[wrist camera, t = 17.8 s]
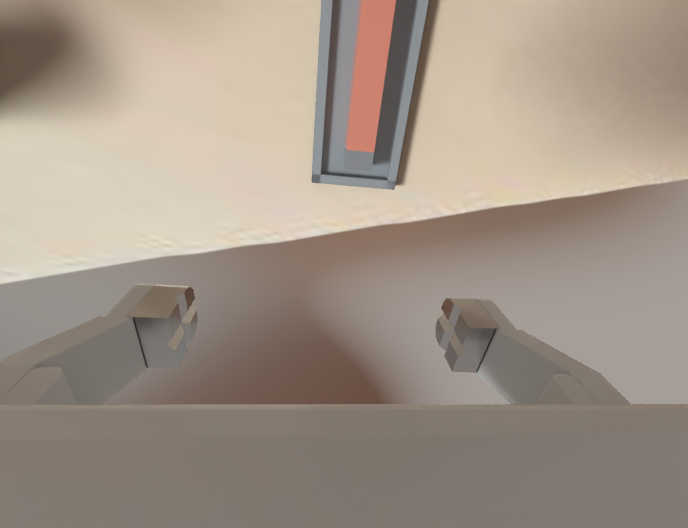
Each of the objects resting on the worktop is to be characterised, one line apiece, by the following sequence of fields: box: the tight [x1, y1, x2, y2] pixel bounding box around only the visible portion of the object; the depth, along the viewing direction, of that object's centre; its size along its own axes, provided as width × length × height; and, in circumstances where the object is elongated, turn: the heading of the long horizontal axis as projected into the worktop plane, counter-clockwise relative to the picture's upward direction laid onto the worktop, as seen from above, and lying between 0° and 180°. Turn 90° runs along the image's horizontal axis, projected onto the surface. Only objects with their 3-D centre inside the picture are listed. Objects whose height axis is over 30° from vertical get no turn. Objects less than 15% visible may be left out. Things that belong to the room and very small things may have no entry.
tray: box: [312, 0, 429, 190], centre depth 32 cm, size 10×24×2 cm, turn 174°
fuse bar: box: [343, 0, 396, 171], centre depth 31 cm, size 3×18×3 cm, turn 174°
